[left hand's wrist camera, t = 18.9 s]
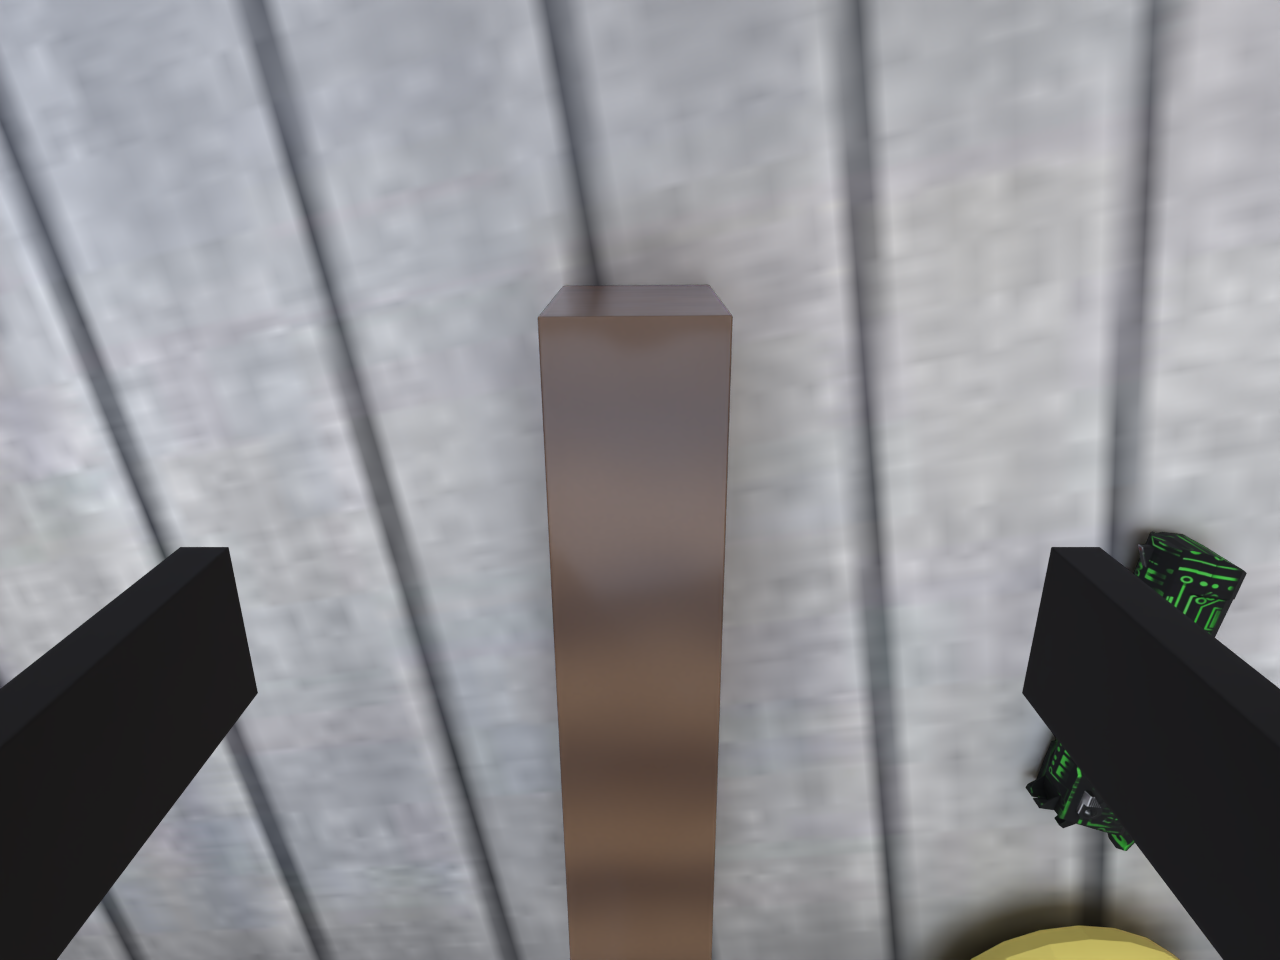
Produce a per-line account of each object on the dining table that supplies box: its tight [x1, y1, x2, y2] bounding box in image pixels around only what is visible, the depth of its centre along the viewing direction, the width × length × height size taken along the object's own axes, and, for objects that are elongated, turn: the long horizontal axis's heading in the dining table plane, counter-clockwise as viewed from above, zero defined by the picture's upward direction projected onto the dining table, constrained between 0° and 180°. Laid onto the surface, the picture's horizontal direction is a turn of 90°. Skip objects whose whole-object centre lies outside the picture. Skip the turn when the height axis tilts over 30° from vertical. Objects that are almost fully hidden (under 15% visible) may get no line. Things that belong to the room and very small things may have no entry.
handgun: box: [1026, 532, 1246, 851], centre depth 38 cm, size 16×3×15 cm
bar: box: [538, 285, 733, 960], centre depth 34 cm, size 33×6×8 cm, turn 0°
